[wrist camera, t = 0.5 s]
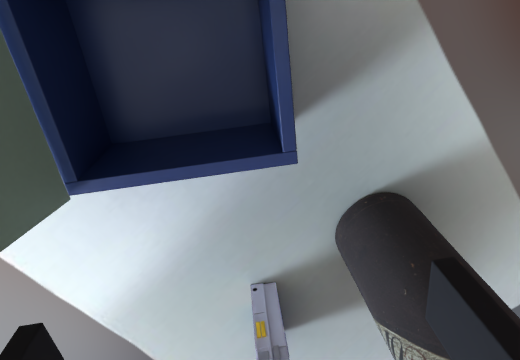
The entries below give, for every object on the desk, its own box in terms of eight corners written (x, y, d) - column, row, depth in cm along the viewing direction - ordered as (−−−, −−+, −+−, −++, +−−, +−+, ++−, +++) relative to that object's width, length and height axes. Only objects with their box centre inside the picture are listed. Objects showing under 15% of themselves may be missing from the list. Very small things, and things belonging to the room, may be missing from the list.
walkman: (284, 331, 40) (305, 448, 29) (261, 335, 40) (273, 454, 29) (275, 279, 36) (295, 390, 26) (250, 284, 36) (258, 397, 26)
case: (264, -50, 24) (279, -78, 17) (281, 128, 29) (298, 163, 22) (50, -23, 23) (-29, -40, 16) (108, 152, 29) (68, 196, 22)
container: (315, 226, 34) (412, 464, 16) (392, 170, 32) (603, 369, 14) (362, 275, 37) (487, 519, 19) (434, 227, 35) (651, 449, 17)
